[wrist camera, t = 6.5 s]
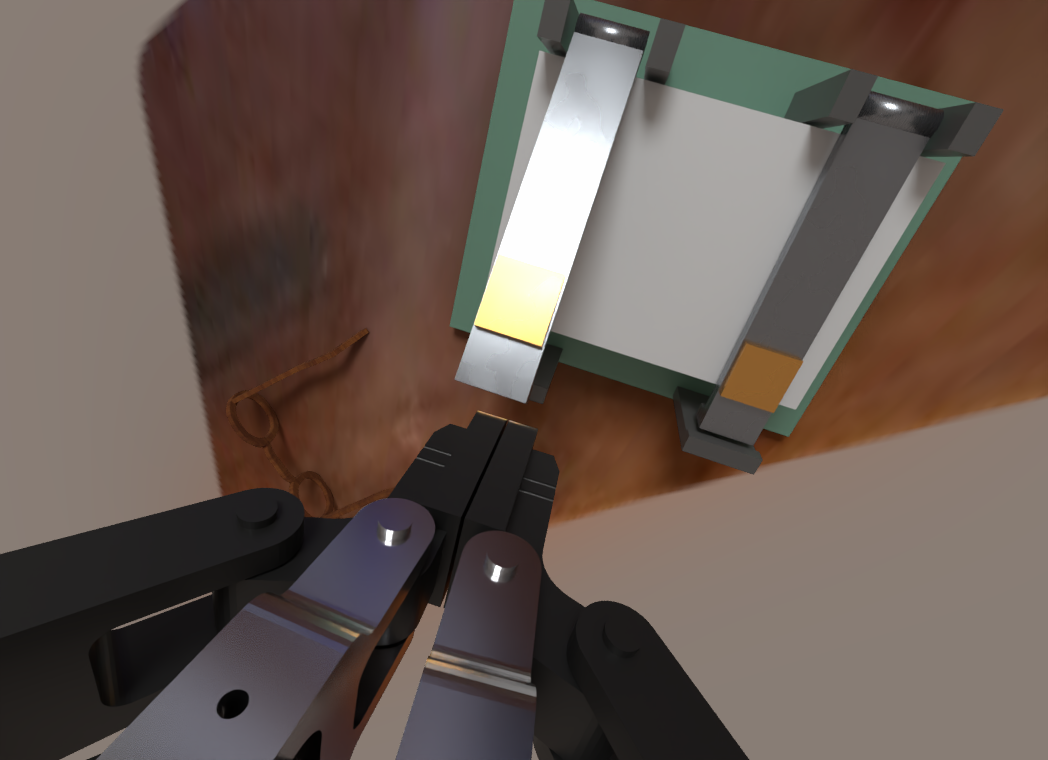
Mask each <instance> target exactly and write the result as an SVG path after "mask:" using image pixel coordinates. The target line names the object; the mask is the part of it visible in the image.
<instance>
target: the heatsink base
mask: <svg viewBox="0 0 1048 760" xmlns="http://www.w3.org/2000/svg"><path fill="white" fill-rule="evenodd" d="M580 13H584V14H588V15H591V16H595V17H599V18H603V19H606V20H610V21H614V22H617V23H621V24H625V25H629V26H632V27H636V28H640V29H643V30H647V31H650V34H649V38H648V41H647V45H646V48H645V51H644V55H643V58H642V61H641V63H640V66H639V69H638V72H637V75H636V78H635V81H634V84H633V87H632V90H631V93H630V96H629V99H628V102H627V105H626V108H625V111H624V114H623V117H622V120H621V123H620V126H619V129H618V132H617V135H616V138H615V141H614V144H613V147H612V150H611V153H610V156H609V159H608V162H607V165H606V168H605V171H604V174H603V177H602V180H601V183H600V186H599V189H598V192H597V195H596V198H595V201H594V204H593V207H592V210H591V212H590V215H589V218H588V221H587V224H586V227H585V230H584V233H583V236H582V239H581V242H580V245H579V248H578V251H577V254H576V257H575V260H574V263H573V266H572V269H571V272H570V275H569V278H568V281H567V284H566V287H565V290H564V293H563V296H562V299H561V302H560V305H559V308H558V311H557V314H556V317H555V320H554V323H553V326H552V329H551V332H550V335H549V338H548V341H547V344H546V347H545V350H544V353H543V356H542V359H541V362H540V365H539V368H538V371H537V374H536V377H535V380H534V383H533V389H532V392H531V395H530V398H529V400H532V401H535V402H538V403H541V404H543V402H544V400H545V397H546V394H547V391H548V389H549V386H550V383H551V381H552V378H553V375H554V373H555V370H556V367H557V365H558V362H561V363H564V364H567V365H570V366H573V367H576V368H579V369H582V370H585V371H588V372H592V373H595V374H598V375H601V376H604V377H607V378H610V379H613V380H616V381H619V382H622V383H625V384H628V385H631V386H634V387H638V388H641V389H644V390H647V391H650V392H653V393H656V394H659V395H662V396H665V397H668V398H671V399H673V401H674V407H675V413H676V419H677V425H678V431H679V436H680V442H681V448H682V451H685V452H688V453H691V454H694V455H697V456H700V457H703V458H706V459H709V460H712V461H715V462H718V463H720V464H723V465H726V466H729V467H732V468H735V469H738V470H741V471H744V472H747V473H750V474H754V473H755V472H756V470H757V468H758V467H759V465H760V464H761V462H762V458H761V455H760V453H759V452H758V451H755V448H754V446H752V445H749V444H746V443H743V442H740V441H737V440H734V439H731V438H728V437H725V436H722V435H719V434H716V433H713V432H710V431H707V430H704V429H701V428H699V425H698V422H697V418H696V413H697V411H698V409H699V407H700V405H701V403H704V404H706V403H707V401H708V399H709V397H710V395H711V393H712V391H713V389H714V387H715V385H716V383H717V381H718V379H719V377H720V375H721V373H722V371H723V369H724V367H725V364H726V362H727V360H728V358H729V356H730V354H731V352H732V350H733V348H734V346H735V344H736V342H737V340H738V338H739V336H740V334H741V332H742V330H743V328H744V326H745V324H746V322H747V320H748V318H749V316H750V314H751V312H752V310H753V308H754V306H755V304H756V302H757V300H758V298H759V296H760V294H761V292H762V290H763V288H764V286H765V284H766V282H767V280H768V278H769V276H770V274H771V272H772V270H773V268H774V266H775V264H776V262H777V260H778V258H779V256H780V254H781V252H782V250H783V248H784V246H785V244H786V242H787V240H788V238H789V236H790V234H791V232H792V230H793V228H794V226H795V224H796V222H797V220H798V218H799V216H800V214H801V212H802V210H803V208H804V206H805V204H806V202H807V200H808V198H809V196H810V194H811V192H812V190H813V188H814V186H815V184H816V181H817V179H818V177H819V175H820V173H821V171H822V169H823V167H824V165H825V163H826V161H827V159H828V157H829V155H830V153H831V151H832V149H833V147H834V145H835V143H836V141H837V139H838V137H839V135H840V133H841V131H842V129H843V127H844V125H847V124H853V123H855V121H856V119H857V117H858V115H859V113H860V111H861V109H862V107H863V105H864V103H865V101H866V99H867V97H868V95H869V93H870V91H874V92H877V93H881V94H885V95H888V96H892V97H896V98H900V99H903V100H907V101H911V102H914V103H918V104H922V105H926V106H929V107H933V108H937V109H940V110H943V111H944V118H943V121H942V123H941V125H940V126H939V128H938V129H937V131H936V132H935V133H934V134H933V136H932V137H931V138H930V139H929V141H928V143H927V144H926V146H925V148H924V149H923V151H922V153H921V155H920V156H919V158H918V160H917V162H916V163H915V165H914V167H913V169H912V170H911V172H910V174H909V176H908V177H907V179H906V181H905V183H904V184H903V186H902V188H901V189H900V191H899V193H898V195H897V196H896V198H895V200H894V202H893V203H892V205H891V207H890V209H889V210H888V212H887V214H886V216H885V217H884V219H883V221H882V223H881V224H880V226H879V228H878V230H877V231H876V233H875V235H874V236H873V238H872V240H871V242H870V243H869V245H868V247H867V249H866V250H865V252H864V254H863V256H862V257H861V259H860V261H859V263H858V264H857V266H856V268H855V270H854V271H853V273H852V275H851V276H850V278H849V280H848V282H847V283H846V285H845V287H844V289H843V290H842V292H841V294H840V296H839V297H838V299H837V301H836V303H835V304H834V306H833V308H832V310H831V311H830V313H829V315H828V317H827V318H826V320H825V322H824V323H823V325H822V327H821V329H820V330H819V332H818V334H817V336H816V337H815V339H814V341H813V343H812V344H811V346H810V348H809V350H808V351H807V353H806V355H805V357H804V358H803V360H802V361H803V363H802V365H801V367H800V369H799V370H798V372H797V374H796V376H795V377H794V379H793V381H792V382H791V384H790V386H789V388H788V389H787V391H786V393H785V395H784V396H783V398H782V400H781V402H780V403H779V405H778V407H777V408H776V410H775V412H774V413H772V414H771V416H770V417H769V419H768V421H767V423H766V424H765V426H764V428H763V429H766V430H769V431H772V432H775V433H779V434H782V435H785V436H788V437H789V435H790V434H791V432H792V430H793V429H794V427H795V426H796V424H797V422H798V421H799V419H800V418H801V416H802V414H803V413H804V411H805V410H806V408H807V406H808V405H809V403H810V401H811V400H812V398H813V397H814V395H815V393H816V392H817V390H818V389H819V387H820V385H821V384H822V382H823V380H824V379H825V377H826V376H827V374H828V372H829V371H830V369H831V368H832V366H833V364H834V363H835V361H836V359H837V358H838V356H839V355H840V353H841V351H842V350H843V348H844V347H845V345H846V343H847V342H848V340H849V339H850V337H851V335H852V334H853V332H854V330H855V329H856V327H857V326H858V324H859V322H860V321H861V319H862V318H863V316H864V314H865V313H866V311H867V309H868V308H869V306H870V305H871V303H872V301H873V300H874V298H875V297H876V295H877V293H878V292H879V290H880V288H881V287H882V285H883V284H884V282H885V280H886V279H887V277H888V276H889V274H890V272H891V271H892V269H893V268H894V266H895V264H896V263H897V261H898V259H899V258H900V256H901V255H902V253H903V251H904V250H905V248H906V247H907V245H908V243H909V242H910V240H911V238H912V237H913V235H914V234H915V232H916V230H917V229H918V227H919V226H920V224H921V222H922V221H923V219H924V217H925V216H926V214H927V213H928V211H929V209H930V208H931V206H932V205H933V203H934V201H935V200H936V198H937V197H938V195H939V193H940V192H941V190H942V188H943V187H944V185H945V184H946V182H947V180H948V179H949V177H950V176H951V174H952V172H953V171H954V169H955V167H956V166H957V164H958V163H959V161H960V159H961V158H962V156H975V155H976V153H977V151H978V150H979V148H980V147H981V145H982V143H983V142H984V140H985V139H986V137H987V136H988V134H989V132H990V131H991V129H992V128H993V126H994V124H995V123H996V121H997V120H998V118H999V117H1000V115H1001V113H1002V112H1003V109H999V108H996V107H992V106H988V105H984V104H981V103H977V102H972V101H968V100H965V99H961V98H957V97H953V96H950V95H946V94H942V93H938V92H935V91H931V90H927V89H923V88H920V87H916V86H912V85H908V84H905V83H901V82H897V81H893V80H890V79H886V78H882V77H878V76H876V75H872V74H868V73H864V72H861V71H857V70H853V69H848V68H845V67H841V66H837V65H833V64H830V63H826V62H822V61H819V60H815V59H811V58H807V57H804V56H800V55H796V54H792V53H789V52H785V51H781V50H777V49H774V48H770V47H766V46H762V45H759V44H755V43H751V42H747V41H744V40H740V39H736V38H732V37H729V36H725V35H721V34H717V33H714V32H710V31H706V30H702V29H699V28H695V27H691V26H687V25H685V24H681V23H677V22H673V21H670V20H666V19H662V18H657V17H654V16H650V15H646V14H642V13H639V12H635V11H631V10H627V9H624V8H620V7H616V6H612V5H609V4H605V3H601V2H597V1H594V0H514V3H513V8H512V13H511V18H510V24H509V29H508V34H507V39H506V44H505V49H504V54H503V59H502V64H501V69H500V74H499V79H498V84H497V89H496V94H495V99H494V105H493V110H492V115H491V120H490V125H489V130H488V135H487V140H486V145H485V150H484V155H483V160H482V165H481V170H480V175H479V181H478V186H477V191H476V196H475V201H474V206H473V211H472V216H471V221H470V226H469V231H468V236H467V241H466V246H465V251H464V256H463V262H462V267H461V272H460V277H459V282H458V287H457V292H456V297H455V302H454V307H453V312H452V317H451V322H450V326H451V327H454V328H457V329H460V330H463V331H466V332H469V333H471V331H472V328H473V325H474V322H475V319H476V316H477V313H478V310H479V307H480V304H481V301H482V299H483V296H484V293H485V290H486V287H487V284H488V281H489V278H490V275H491V272H492V269H493V267H494V264H495V261H496V258H497V255H498V252H499V249H500V246H501V243H502V240H503V237H504V235H505V232H506V229H507V226H508V223H509V220H510V217H511V214H512V211H513V208H514V206H515V203H516V200H517V197H518V194H519V191H520V188H521V185H522V182H523V179H524V176H525V174H526V171H527V168H528V165H529V162H530V159H531V156H532V153H533V150H534V147H535V144H536V142H537V139H538V136H539V133H540V130H541V127H542V124H543V121H544V118H545V115H546V113H547V110H548V107H549V104H550V101H551V98H552V95H553V92H554V89H555V86H556V83H557V81H558V78H559V75H560V72H561V69H562V66H563V63H564V60H565V57H566V54H567V51H568V49H569V46H570V43H571V40H572V37H573V34H574V31H575V26H576V23H577V19H578V16H579V14H580Z"/></svg>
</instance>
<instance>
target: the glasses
mask: <svg viewBox="0 0 1048 760" xmlns="http://www.w3.org/2000/svg"><path fill="white" fill-rule="evenodd" d="M367 333H369V331H368V330H367V329H366V328H365V329H363V330H361V331H360V332H358V333H357V334H355V335H354V336H352V337H351V338H349V339H348V340H346V341H345V342H344V343H342V344H341V345H339V346H338V347H336V348H335V349H333V350H332V351H331V352H328V353H326V354H324V355H322V356H320V357H317V358H315V359H313V360H310V361H308V362H305V363H303V364H300V365H298V366H296V367H294V368H292V369H290V370H288V371H286V372H284V373H282V374H280V375H278V376H276V377H274V378H272V379H271V380H269V381H267V382H265V383H263V384H261V385H259V386H257V387H255V388H253V389H251V390H245V391H241V392H238V393H236V394H234V395H233V396H232V397H231V398H230V399H229V400H228V403H227V406H226V413H227V417H228V420H229V422H230V424H231V426H232V428H233V429H234V431H235V432H236V433H237V434H238V436H239V437H240V438H242V439H243V440H244V441H245V442H247V443H249V444H251V445H253V446H256V447H263V448H264V452H265V454H266V456H267V458H268V460H269V461H270V462H271V464H272V465H273V466H274V468H275V469H276V470H277V472H278V473H279V474H280V476H281V477H282V478H283V479H284V480H286V481H287V482H289V483H290V486H289V492H290V493H291V494H293V495H294V496H296V497H297V498H298V499H299V495H298V488H299V485H300V483H301V482H302V481H303V480H304V479H306V478H307V479H311V480H313V481H315V482H316V483H317V484H318V485H319V487H320V488H321V489H322V491H323V493H324V496H325V499H326V509H325V512H324V514H323V515H322V516H321V517H320V518H332V519H335V518H337V517H339V516H342V515H344V514H346V513H349V512H351V511H353V510H356V509H358V508H360V507H362V506H365V505H367V504H369V503H372V502H374V501H376V500H379V499H381V498H383V497H387V496H389V495H390V494H391V492H392V491H393V489H394V488H391V489H386V490H383V491H380V492H378V493H376V494H373V495H371V496H369V497H367V498H364V499H362V500H360V501H357V502H355V503H353V504H351V505H348V506H346V507H344V508H341V509H339V510H337V511H335V512H333V507H334V501H333V496H332V493H331V491H330V489H329V488H328V486H327V485H326V483H325V482H324V481H323V479H322V478H321V477H320V476H319V475H318V474H317V473H315V472H312V471H307V472H304V473H302V474H300V475H299V476H297V477H296V478H295V477H294V476H292V475H291V474H290V473H289V472H288V470H287V469H286V468H285V466H284V465H283V464H282V462H281V461H280V460H279V458H278V457H277V456H276V454H275V453H274V451H273V449H272V447H271V444H270V442H271V441H272V440H273V439H274V437H275V436H276V434H277V432H278V428H279V424H278V419H277V416H276V414H275V412H274V411H273V410H272V408H271V407H270V405H269V404H268V403H267V401H266V400H265V399H264V398H263V397H262V396H261V395H259V394H258V393H256V392H258V391H260V390H262V389H264V388H266V387H268V386H270V385H272V384H274V383H276V382H278V381H280V380H282V379H284V378H286V377H288V376H290V375H292V374H294V373H296V372H298V371H300V370H303V369H306V368H308V367H311V366H314V365H316V364H318V363H321V362H323V361H325V360H328V359H330V358H332V357H334V356H336V355H337V354H339V353H340V352H341V351H343V350H344V349H346V348H347V347H349V346H350V345H351V344H353V343H354V342H356V341H357V340H359V339H360V338H362V337H363V336H364V335H366V334H367ZM245 398H249V399H252V400H254V401H256V402H257V403H258V404H259V405H260V406H261V407H262V408H263V409H264V411H265V412H266V414H267V416H268V418H269V421H270V430H269V433H268V434H267V435H266V436H265V438H257V437H254V436H252V435H251V434H249V433H248V432H247V431H246V430H245V429H244V428H243V426H242V425H241V423H240V422H239V420H238V417H237V414H236V406H237V403H238V402H239V401H241V400H243V399H245ZM299 500H300V499H299ZM304 513H305V515H304V517H312V516H311V515H309V514H308V513H307V512H306V510H305V509H304Z"/></svg>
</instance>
